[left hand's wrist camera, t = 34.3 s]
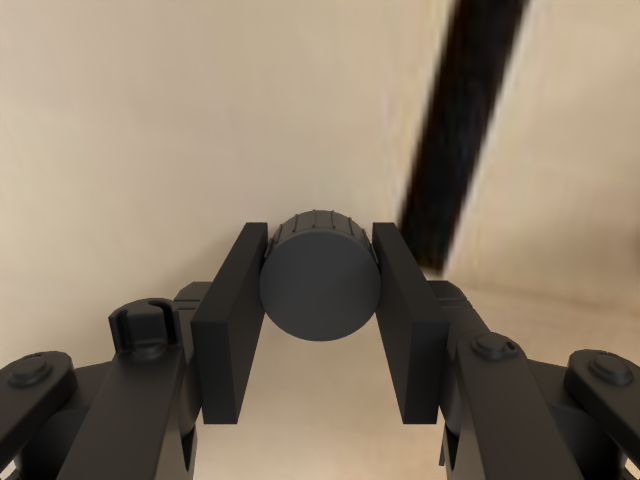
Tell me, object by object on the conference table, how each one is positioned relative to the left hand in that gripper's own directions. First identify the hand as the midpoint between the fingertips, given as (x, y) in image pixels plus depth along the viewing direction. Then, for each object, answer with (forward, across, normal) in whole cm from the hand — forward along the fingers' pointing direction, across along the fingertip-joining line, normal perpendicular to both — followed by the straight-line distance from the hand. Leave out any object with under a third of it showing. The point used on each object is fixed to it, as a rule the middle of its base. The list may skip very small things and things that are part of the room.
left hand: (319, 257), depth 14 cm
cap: (-2, 0, 0) cm, 2 cm away
